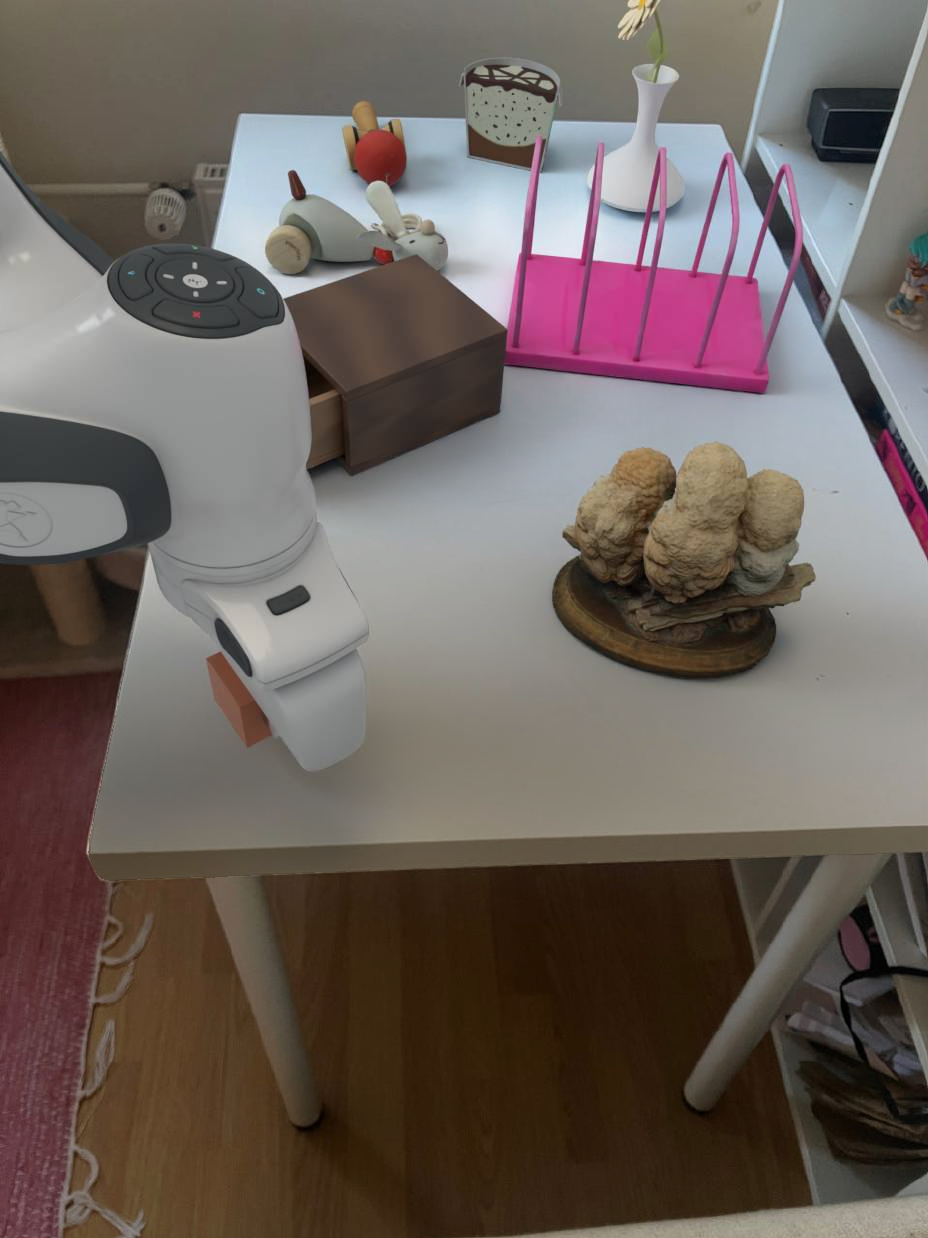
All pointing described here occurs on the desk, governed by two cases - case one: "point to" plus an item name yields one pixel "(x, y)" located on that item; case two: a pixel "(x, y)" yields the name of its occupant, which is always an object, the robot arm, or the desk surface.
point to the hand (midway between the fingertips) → (259, 693)
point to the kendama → (375, 146)
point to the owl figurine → (683, 562)
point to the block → (236, 701)
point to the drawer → (324, 418)
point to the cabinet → (401, 357)
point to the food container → (509, 109)
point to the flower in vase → (642, 126)
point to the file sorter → (645, 301)
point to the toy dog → (349, 232)
